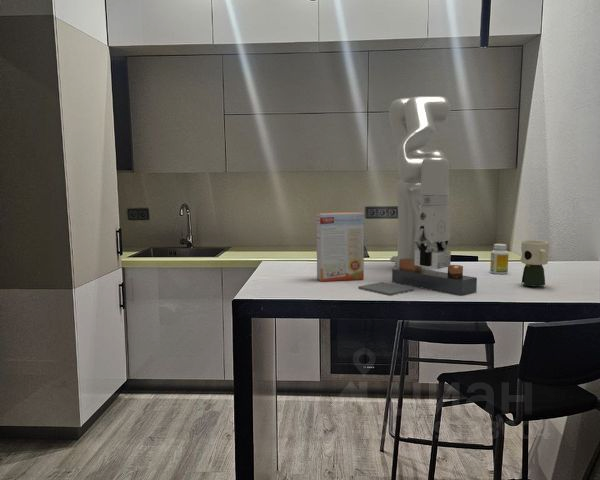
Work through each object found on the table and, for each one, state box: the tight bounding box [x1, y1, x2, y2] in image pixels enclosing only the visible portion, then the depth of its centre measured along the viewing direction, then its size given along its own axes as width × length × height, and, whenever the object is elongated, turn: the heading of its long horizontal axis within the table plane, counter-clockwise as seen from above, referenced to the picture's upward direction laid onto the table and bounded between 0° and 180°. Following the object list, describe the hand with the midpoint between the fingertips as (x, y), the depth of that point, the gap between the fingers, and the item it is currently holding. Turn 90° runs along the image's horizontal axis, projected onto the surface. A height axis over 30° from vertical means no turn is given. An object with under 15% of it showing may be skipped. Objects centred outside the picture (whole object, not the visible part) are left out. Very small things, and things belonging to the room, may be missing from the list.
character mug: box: [520, 239, 550, 288], centre depth 143 cm, size 11×7×13 cm, turn 2°
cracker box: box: [315, 211, 365, 282], centre depth 155 cm, size 14×6×21 cm, turn 101°
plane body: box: [391, 258, 478, 296], centre depth 143 cm, size 24×7×7 cm, turn 39°
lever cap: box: [414, 246, 452, 270], centre depth 143 cm, size 8×6×5 cm
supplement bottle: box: [489, 243, 509, 275], centre depth 165 cm, size 5×5×10 cm
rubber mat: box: [357, 281, 415, 296], centre depth 140 cm, size 12×10×1 cm
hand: (432, 263), depth 144 cm, fingers closed on lever cap, 6 cm apart
